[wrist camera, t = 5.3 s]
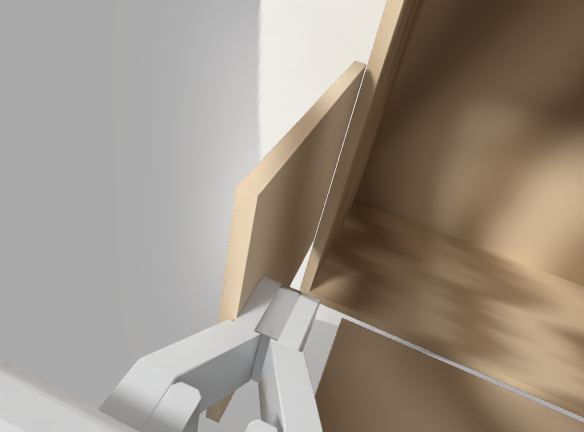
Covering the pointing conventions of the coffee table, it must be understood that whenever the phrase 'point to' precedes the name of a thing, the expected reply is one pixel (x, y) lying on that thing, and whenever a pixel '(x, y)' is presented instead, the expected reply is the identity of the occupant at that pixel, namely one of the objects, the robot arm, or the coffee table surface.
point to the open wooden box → (467, 191)
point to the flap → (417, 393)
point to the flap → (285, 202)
